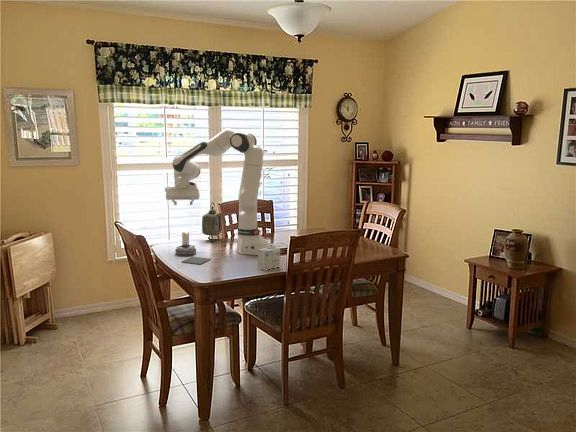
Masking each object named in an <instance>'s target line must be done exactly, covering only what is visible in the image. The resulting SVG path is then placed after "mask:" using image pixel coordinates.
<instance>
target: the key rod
mask: <svg viewBox="0 0 576 432" xmlns="http://www.w3.org/2000/svg"><path fill="white" fill-rule="evenodd" d="M181 236H182V237H181V239H182V240H181V245H182V247H186V248H188V247H189V245H190V232H188V231H185V232H182V233H181Z"/></svg>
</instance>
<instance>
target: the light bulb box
mask: <svg viewBox="0 0 576 432" xmlns="http://www.w3.org/2000/svg"><path fill="white" fill-rule="evenodd" d="M279 266H280V267H281V248H279V247H276V246H269V247H268V248H262V249H258V255H257V269H259V268H261V269H260V270H262V269H264V270H265V271H267V270H266V269H270V268H275V267H279ZM275 269H276V268H275ZM264 270H263V271H264ZM270 270H271V269H270Z"/></svg>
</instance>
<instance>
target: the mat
mask: <svg viewBox="0 0 576 432" xmlns="http://www.w3.org/2000/svg"><path fill="white" fill-rule="evenodd" d="M211 260H212V258H209V257H201V256H195V255H192V256H189V257H187V258H185V259H184V260H181V263H184V264H191V265H198V266H199V265H200V266H201V265H203V264H205V263H208V262H209V261H211Z"/></svg>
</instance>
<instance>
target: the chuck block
mask: <svg viewBox="0 0 576 432" xmlns="http://www.w3.org/2000/svg"><path fill="white" fill-rule="evenodd" d="M195 246H196V245H193V244H189V247H188V248H186V247H182V244H181V245H178V246H176V248H175V250H174V252H175V255H176V256H180V257H192V256H195V255H196V254H197V248H196V247H195Z"/></svg>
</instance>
